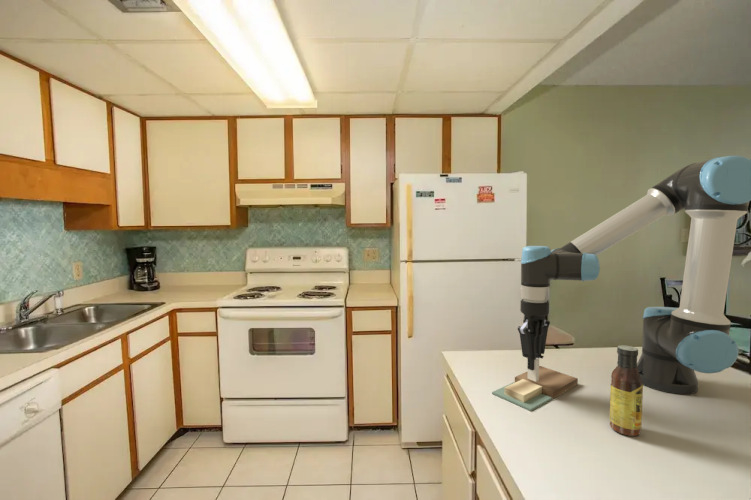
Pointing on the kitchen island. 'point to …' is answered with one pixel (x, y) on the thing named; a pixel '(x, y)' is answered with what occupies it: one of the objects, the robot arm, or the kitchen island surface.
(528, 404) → the rubber mat
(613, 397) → the sauce bottle
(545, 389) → the walnut deck
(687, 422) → the kitchen island surface
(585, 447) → the kitchen island surface
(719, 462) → the kitchen island surface
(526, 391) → the maple tile
